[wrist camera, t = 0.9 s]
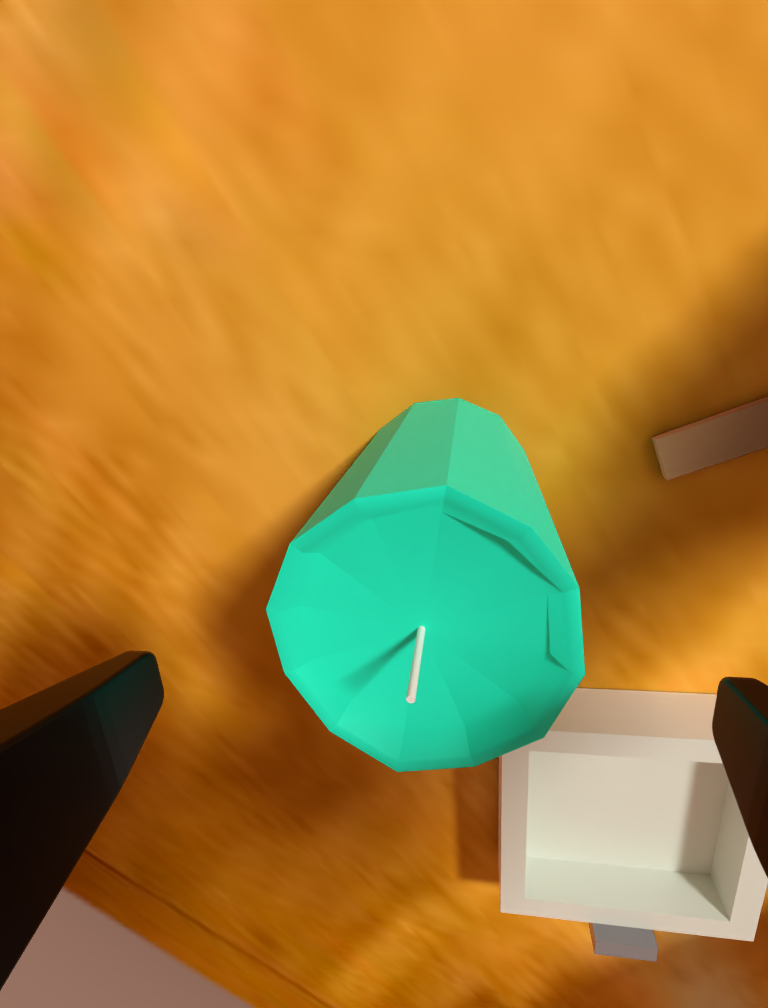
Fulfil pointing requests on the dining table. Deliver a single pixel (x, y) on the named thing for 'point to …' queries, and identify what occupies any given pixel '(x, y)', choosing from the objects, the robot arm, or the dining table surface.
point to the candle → (432, 597)
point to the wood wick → (713, 439)
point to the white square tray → (627, 824)
